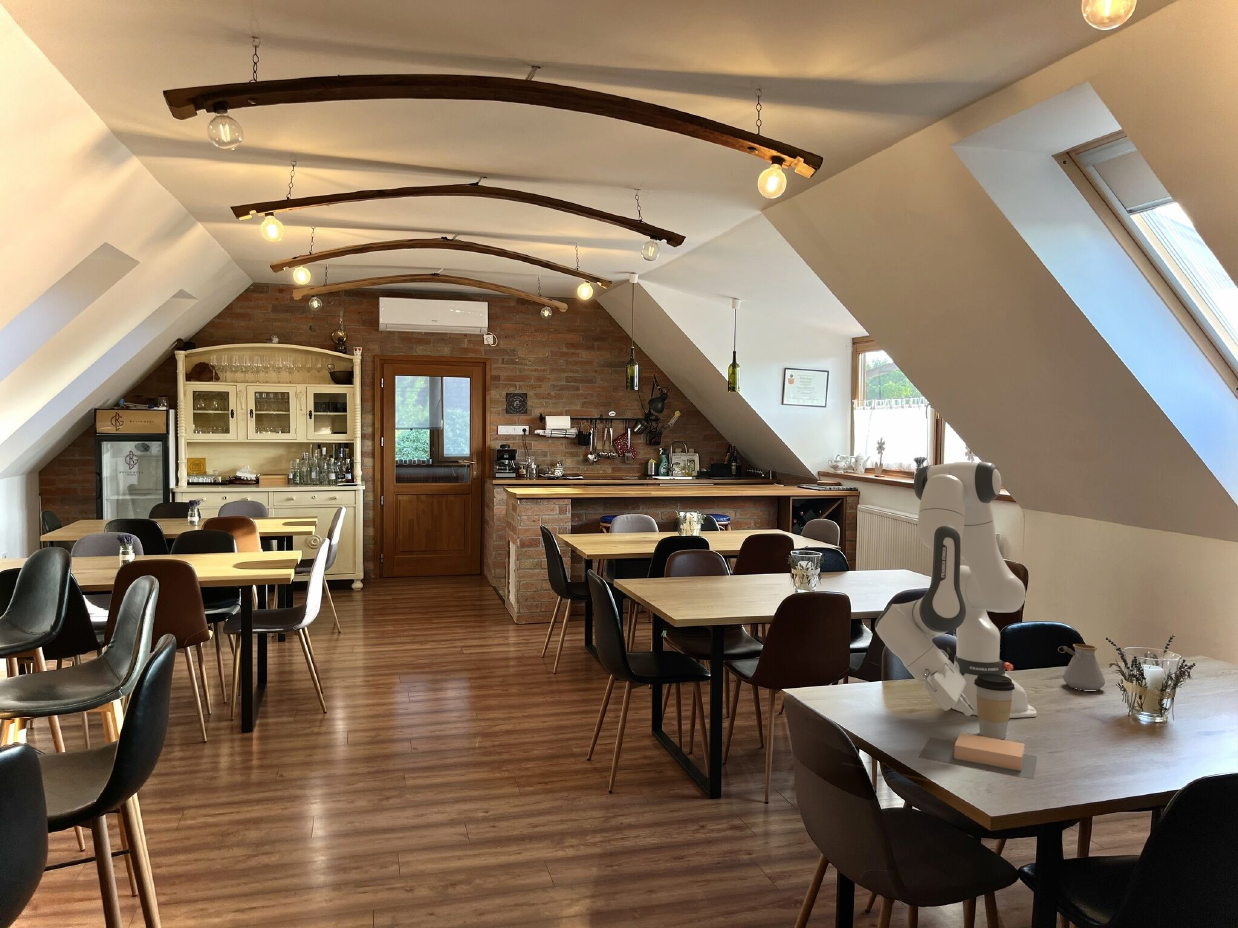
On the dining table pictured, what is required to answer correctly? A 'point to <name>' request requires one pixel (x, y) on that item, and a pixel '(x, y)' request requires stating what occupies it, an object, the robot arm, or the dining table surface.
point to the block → (989, 751)
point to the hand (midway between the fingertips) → (971, 713)
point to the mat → (945, 753)
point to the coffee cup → (993, 704)
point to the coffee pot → (1083, 668)
